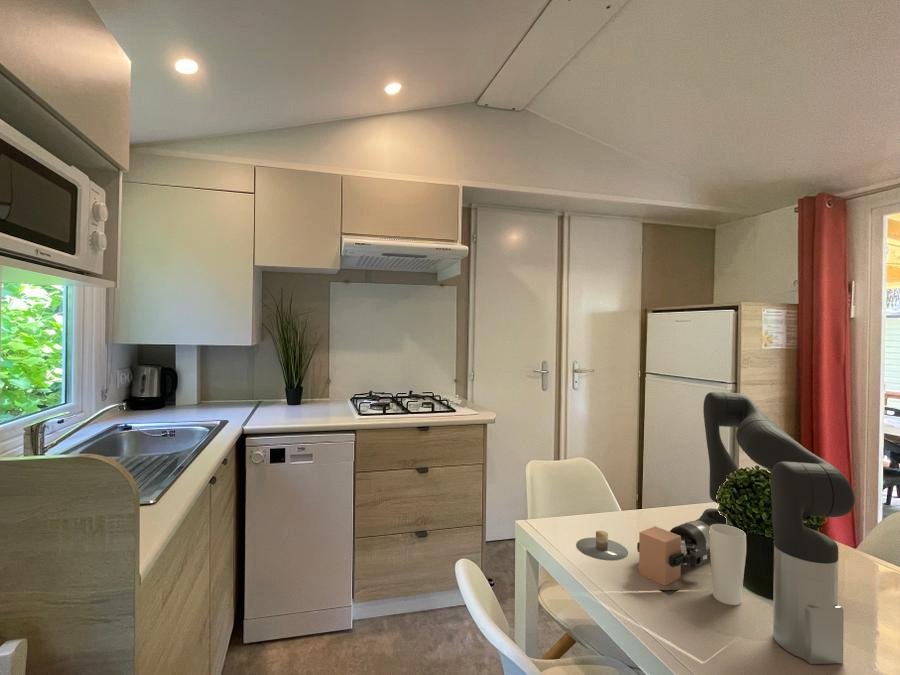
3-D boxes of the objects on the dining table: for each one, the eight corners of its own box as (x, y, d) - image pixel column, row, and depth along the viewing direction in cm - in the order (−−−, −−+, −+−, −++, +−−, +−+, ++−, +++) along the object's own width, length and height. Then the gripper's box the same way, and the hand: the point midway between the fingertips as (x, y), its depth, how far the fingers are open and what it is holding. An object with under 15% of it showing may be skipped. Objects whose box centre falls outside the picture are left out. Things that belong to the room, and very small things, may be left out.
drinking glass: (751, 611, 92) (752, 538, 92) (715, 606, 94) (716, 534, 94) (737, 593, 99) (738, 525, 99) (703, 589, 100) (704, 522, 100)
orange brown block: (680, 579, 104) (680, 535, 104) (665, 587, 100) (665, 542, 100) (654, 567, 109) (654, 526, 109) (638, 574, 105) (639, 532, 105)
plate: (637, 563, 112) (637, 559, 112) (586, 563, 111) (586, 560, 111) (614, 540, 125) (614, 537, 125) (569, 540, 124) (569, 537, 124)
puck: (609, 550, 116) (609, 535, 117) (598, 551, 116) (598, 535, 116) (604, 545, 119) (605, 530, 120) (593, 545, 119) (594, 530, 119)
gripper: (664, 514, 119) (627, 527, 109) (722, 534, 107) (685, 551, 97) (664, 543, 118) (626, 558, 109) (722, 565, 107) (685, 585, 97)
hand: (654, 555), depth 103 cm, fingers open, 7 cm apart
